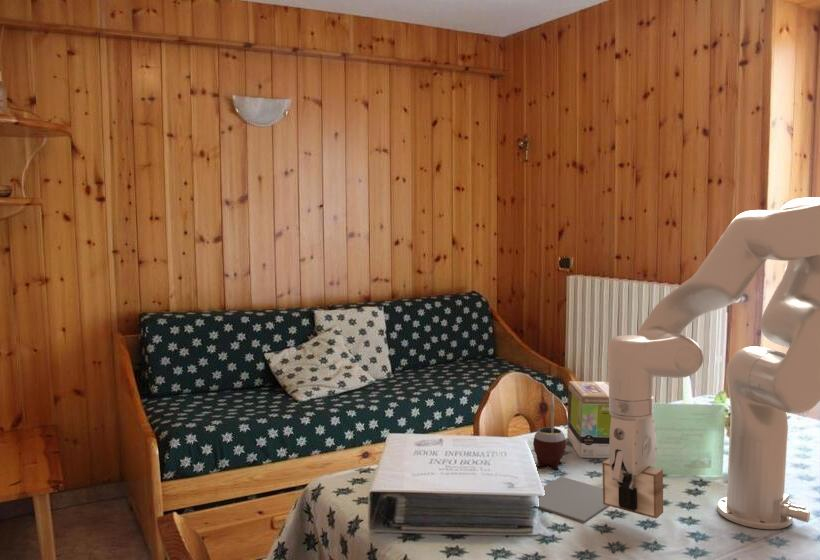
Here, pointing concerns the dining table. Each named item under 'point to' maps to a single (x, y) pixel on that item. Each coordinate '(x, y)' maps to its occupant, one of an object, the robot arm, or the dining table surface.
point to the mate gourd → (549, 444)
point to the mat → (572, 499)
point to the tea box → (589, 418)
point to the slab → (647, 490)
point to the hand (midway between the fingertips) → (632, 503)
